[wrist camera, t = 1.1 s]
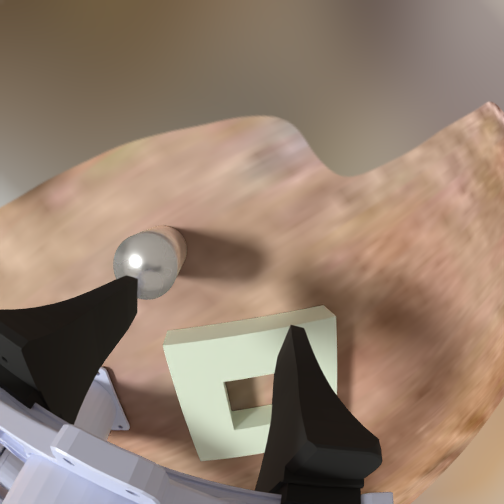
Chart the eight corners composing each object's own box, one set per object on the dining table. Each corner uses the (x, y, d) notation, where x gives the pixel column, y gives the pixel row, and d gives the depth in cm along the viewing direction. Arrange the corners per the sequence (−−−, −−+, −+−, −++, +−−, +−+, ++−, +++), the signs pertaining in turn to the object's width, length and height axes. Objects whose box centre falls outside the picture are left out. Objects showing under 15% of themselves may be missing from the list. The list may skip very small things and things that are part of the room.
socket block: (200, 442, 27) (200, 461, 24) (167, 330, 25) (162, 345, 22) (326, 418, 29) (335, 435, 26) (323, 304, 26) (336, 316, 23)
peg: (144, 277, 24) (121, 303, 17) (135, 229, 23) (107, 239, 16) (190, 270, 24) (182, 295, 18) (182, 221, 24) (171, 228, 17)
